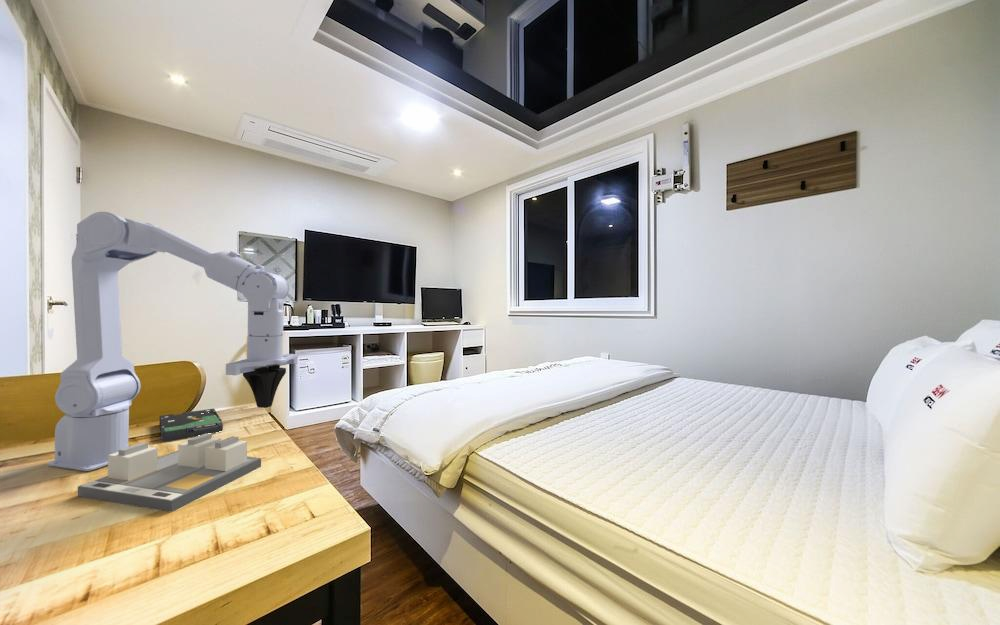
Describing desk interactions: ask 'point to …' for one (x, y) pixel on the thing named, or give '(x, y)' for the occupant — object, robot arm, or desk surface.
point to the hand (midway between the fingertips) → (264, 406)
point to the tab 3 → (226, 454)
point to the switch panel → (165, 484)
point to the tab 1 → (132, 462)
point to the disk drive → (189, 424)
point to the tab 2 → (195, 450)
